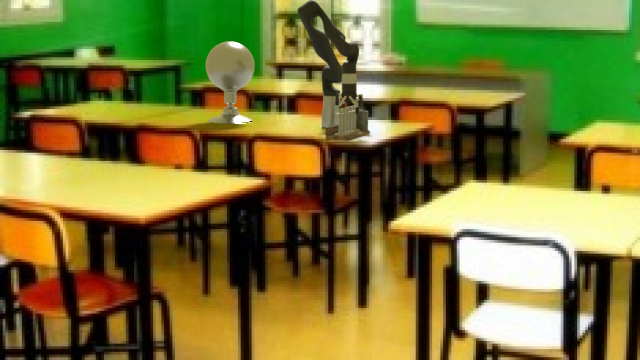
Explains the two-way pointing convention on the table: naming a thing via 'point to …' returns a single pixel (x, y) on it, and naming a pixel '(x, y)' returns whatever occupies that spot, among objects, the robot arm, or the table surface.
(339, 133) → the long lego plate
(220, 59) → the desk lamp
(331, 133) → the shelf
